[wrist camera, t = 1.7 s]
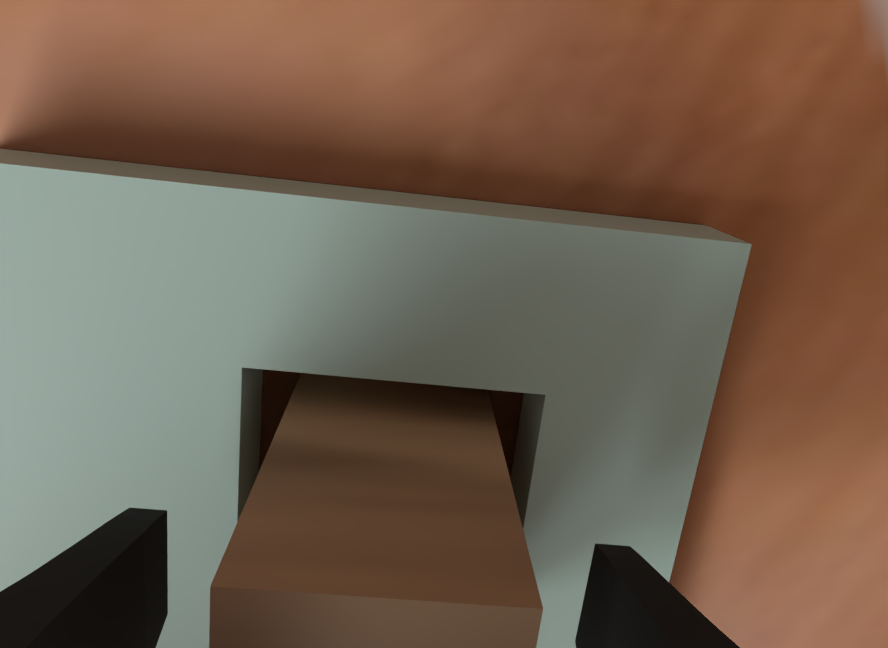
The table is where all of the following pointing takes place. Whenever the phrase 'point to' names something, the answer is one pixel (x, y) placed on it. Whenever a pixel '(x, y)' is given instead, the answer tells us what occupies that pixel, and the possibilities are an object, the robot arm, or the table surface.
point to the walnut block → (379, 527)
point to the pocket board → (340, 354)
